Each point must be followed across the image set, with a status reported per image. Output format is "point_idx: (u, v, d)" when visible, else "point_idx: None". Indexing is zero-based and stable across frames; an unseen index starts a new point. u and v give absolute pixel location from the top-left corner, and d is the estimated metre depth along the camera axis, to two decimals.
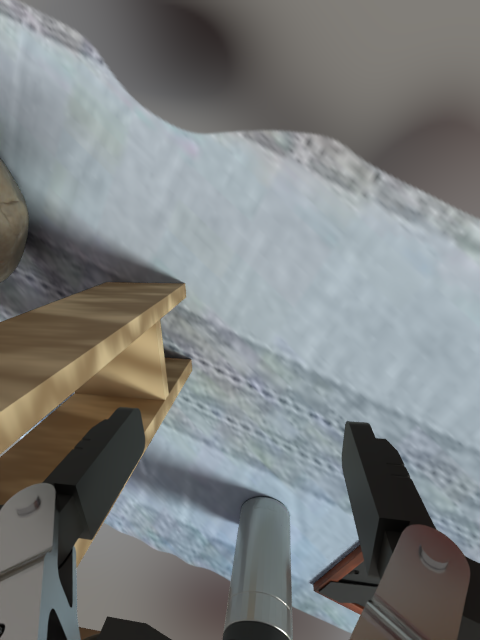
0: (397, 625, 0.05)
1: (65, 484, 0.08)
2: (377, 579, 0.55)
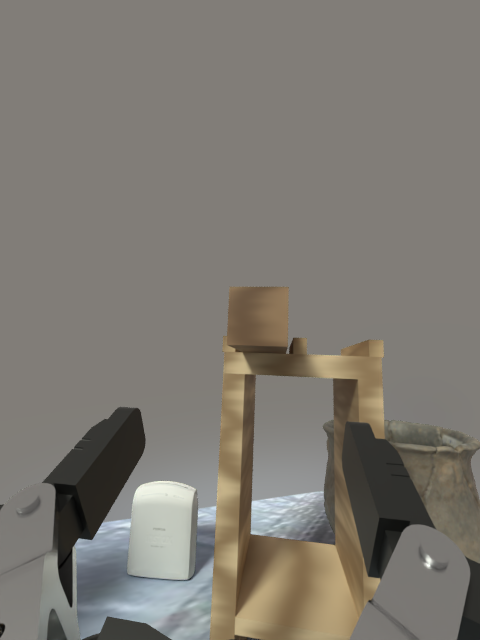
0: (397, 625, 0.05)
1: (65, 484, 0.08)
2: None
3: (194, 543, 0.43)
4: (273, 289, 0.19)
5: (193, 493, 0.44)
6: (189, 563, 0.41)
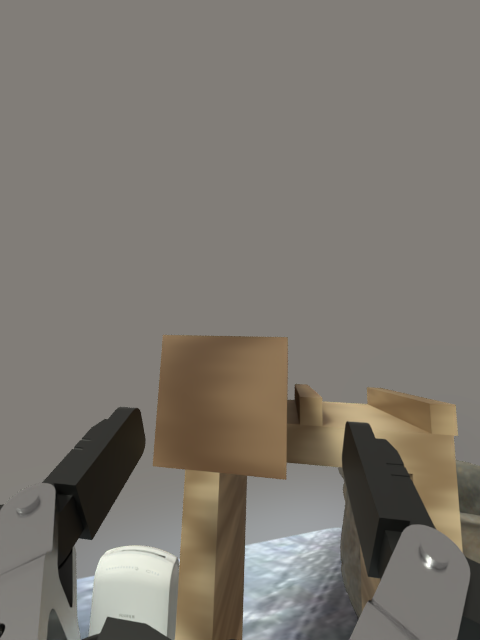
0: (397, 625, 0.05)
1: (65, 484, 0.08)
2: None
3: (173, 632, 0.33)
4: (254, 342, 0.09)
5: (172, 566, 0.34)
6: None
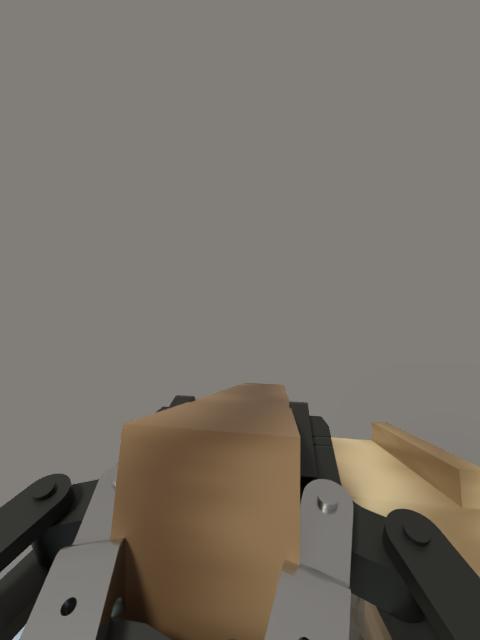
0: (308, 570, 0.05)
1: None
2: None
3: None
4: (252, 442, 0.06)
5: None
6: None
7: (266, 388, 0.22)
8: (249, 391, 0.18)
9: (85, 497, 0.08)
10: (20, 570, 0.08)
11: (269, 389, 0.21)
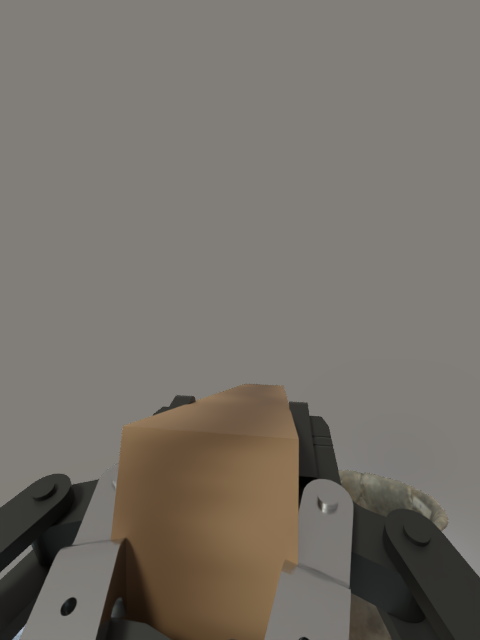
0: (309, 570, 0.05)
1: None
2: None
3: None
4: (251, 444, 0.06)
5: None
6: None
7: (266, 389, 0.22)
8: (249, 392, 0.18)
9: (85, 497, 0.08)
10: (20, 571, 0.08)
11: (269, 390, 0.21)
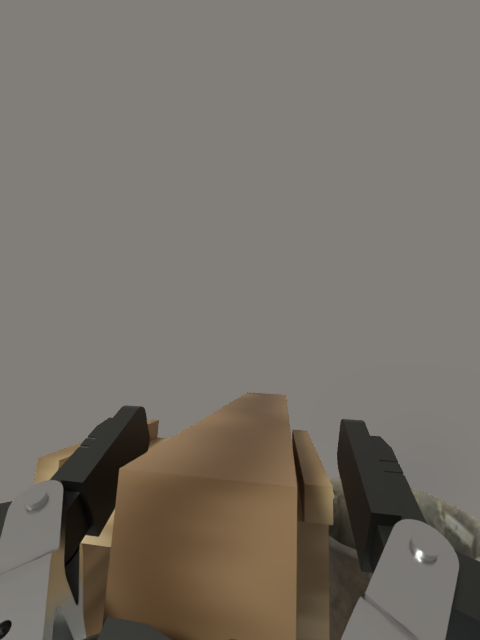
0: (389, 618, 0.05)
1: (72, 481, 0.08)
2: None
3: None
4: (249, 491, 0.06)
5: None
6: None
7: (268, 401, 0.22)
8: (250, 407, 0.18)
9: None
10: None
11: (270, 403, 0.21)
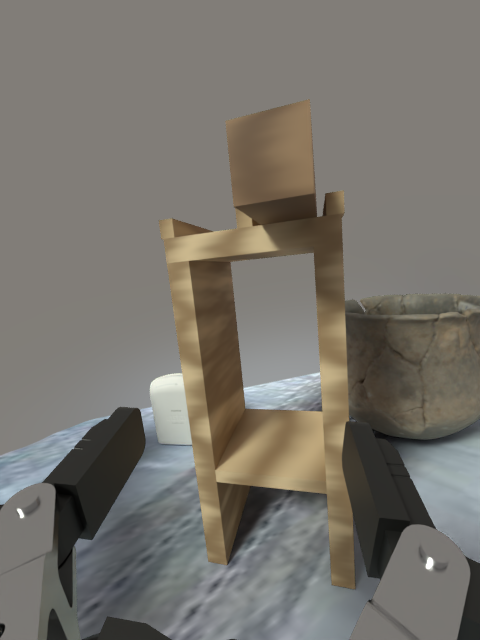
0: (397, 625, 0.05)
1: (65, 484, 0.08)
2: None
3: None
4: (287, 109, 0.13)
5: None
6: None
7: None
8: None
9: None
10: None
11: None
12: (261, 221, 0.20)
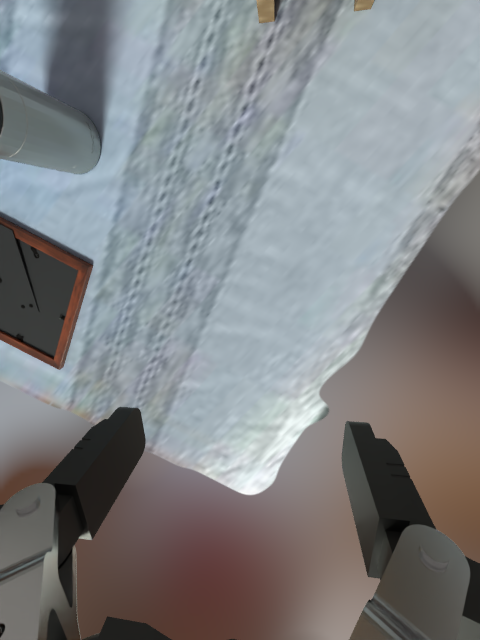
0: (397, 625, 0.05)
1: (65, 484, 0.08)
2: (36, 276, 0.55)
3: None
4: None
5: None
6: None
7: None
8: None
9: None
10: None
11: None
12: None
